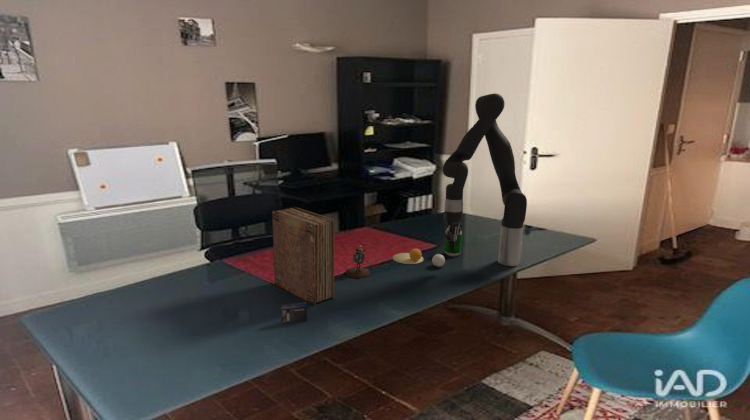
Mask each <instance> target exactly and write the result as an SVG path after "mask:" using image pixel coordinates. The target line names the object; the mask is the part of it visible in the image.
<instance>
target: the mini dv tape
mask: <svg viewBox="0 0 750 420" xmlns="http://www.w3.org/2000/svg"><path fill="white" fill-rule="evenodd" d="M307 305H308V304H307V302H306V301H304V302H296V303H295V302H294V303H284V304H281V305H280V313H281V314H280V317H281V319H280V321H281V324H288V323H290V324H291V323H297V322H307V321H308V306H307Z"/></svg>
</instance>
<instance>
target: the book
mask: <svg viewBox="0 0 750 420" xmlns="http://www.w3.org/2000/svg"><path fill="white" fill-rule="evenodd" d="M271 215H272V217H271V218H272V240H273V241H272V243H273V244H272V245H273V246H272V248H273V249H272V250H273V270H274V271H273V272H274V273H273V274H274V285H276V286H277V287H279V288H280V289H283V290H285V291H286V292H288V293H290V294H292V295H294V296H296V297H298V298H299V299H301V300H303V301H304V302H306V303H309V304H310V305H312V306H314V307H315V306H316V305H317V303H320V302H323V301H326V300H328V299H334V298H335V219H334V218H331V217H328V216H325V215H322V214H318V213H315V212H312V211H309V210H306V209H302V208H299V207H296V206H288V207H283V208H278V209H277V208H276V209H272V211H271Z"/></svg>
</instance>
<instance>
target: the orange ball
mask: <svg viewBox="0 0 750 420" xmlns="http://www.w3.org/2000/svg"><path fill="white" fill-rule="evenodd" d="M408 253H409V256H410V258H411V259H412V260H413V261H418V260H419V259H420V258H421V256H422V255H423V254H422V251H421V250H420V249H419V248H412V249H410V251H409V252H408ZM422 257H423V256H422Z"/></svg>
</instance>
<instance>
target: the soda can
mask: <svg viewBox="0 0 750 420" xmlns="http://www.w3.org/2000/svg"><path fill="white" fill-rule="evenodd" d="M462 239H463V231H462V230H461V231H460V234H459V237H458V238H457V240H456V246H455V249H454V250H451V249H449V240H447V239H446V237H445V240H444V253H445V254H446V255H447V256H448V257H458V256H459V255H460V254H461V252H462V242H463V241H462Z"/></svg>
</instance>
